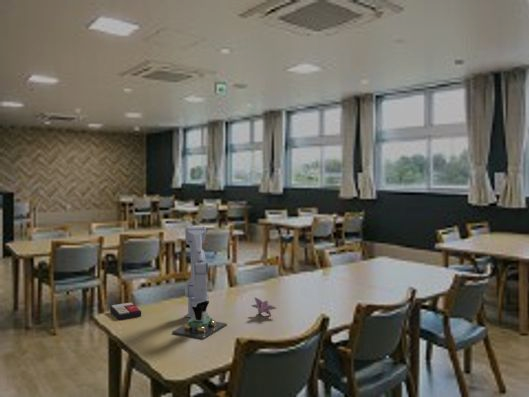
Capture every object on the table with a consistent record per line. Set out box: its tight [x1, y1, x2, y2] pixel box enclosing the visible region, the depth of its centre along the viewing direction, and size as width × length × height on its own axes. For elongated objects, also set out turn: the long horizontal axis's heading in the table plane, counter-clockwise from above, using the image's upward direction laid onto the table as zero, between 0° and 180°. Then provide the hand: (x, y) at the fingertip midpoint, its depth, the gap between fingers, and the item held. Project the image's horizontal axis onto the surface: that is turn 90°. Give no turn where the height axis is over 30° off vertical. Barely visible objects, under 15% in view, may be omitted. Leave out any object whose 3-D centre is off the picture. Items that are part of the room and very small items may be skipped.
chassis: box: [171, 318, 228, 340], centre depth 203 cm, size 20×16×4 cm
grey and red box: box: [109, 302, 142, 321], centre depth 224 cm, size 11×4×15 cm
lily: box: [250, 296, 278, 318], centre depth 222 cm, size 12×12×10 cm
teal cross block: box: [187, 311, 213, 327], centre depth 203 cm, size 11×9×4 cm
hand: (200, 318), depth 203 cm, fingers open, 3 cm apart
